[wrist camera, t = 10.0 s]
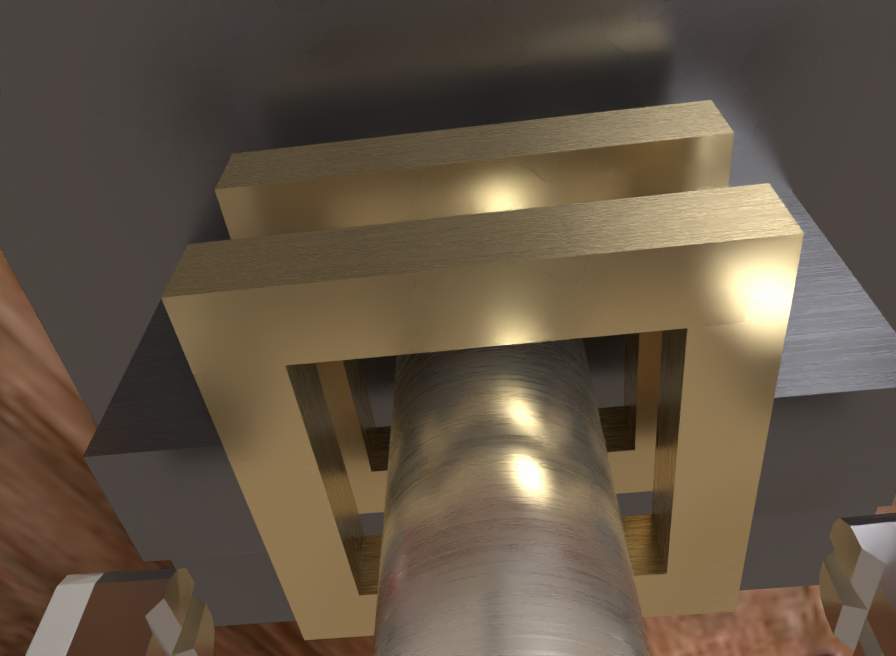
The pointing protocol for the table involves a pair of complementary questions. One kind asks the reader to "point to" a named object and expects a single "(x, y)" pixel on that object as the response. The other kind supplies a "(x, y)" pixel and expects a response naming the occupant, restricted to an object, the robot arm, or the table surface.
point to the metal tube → (502, 511)
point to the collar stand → (460, 265)
